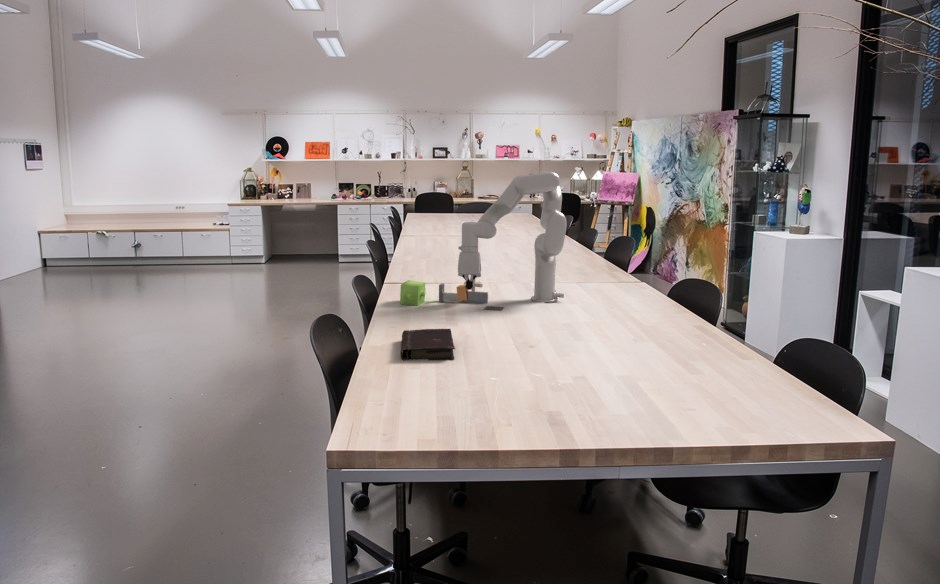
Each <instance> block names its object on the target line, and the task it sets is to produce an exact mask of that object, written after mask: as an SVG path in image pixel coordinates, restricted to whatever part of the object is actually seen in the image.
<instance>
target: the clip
mask: <svg viewBox="0 0 940 584" xmlns="http://www.w3.org/2000/svg"><path fill="white" fill-rule="evenodd" d="M466 291H470V290H467V287H466V285H464V284H459V285H457V286H456V293H457V295H458V301H461V300H467V293H466Z"/></svg>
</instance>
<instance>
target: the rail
mask: <svg viewBox="0 0 940 584" xmlns="http://www.w3.org/2000/svg"><path fill="white" fill-rule="evenodd" d="M466 293H467V300H461V301H458V295H457V292H448V291H447V292H445V283H440V284H438V303H445V304H447V303H449V304H454V303H470V304H471V303H472V304H488V303H489V292H488V291H487V292H485V291H475V292H473V291H471V290H469V291H466Z"/></svg>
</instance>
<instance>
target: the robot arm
mask: <svg viewBox="0 0 940 584" xmlns="http://www.w3.org/2000/svg"><path fill="white" fill-rule="evenodd" d="M560 178H561V177H560V176H559V174H557V172H556V173H555V172H554V171H550V170H549V171H548V170H542V171H539V172H538V173H536V174H530V175H529V174H528V175H525V174H518V175H517V176H515V177H514V178H513V179H512V180H511V182H510V183H509V184H508V186H507V187H506V188H505V190H504V191H503V192H502V193H501V195H499V197H498V198H497V200H495V201H494V203H493V204H491V205H490V207H488V208H487V209H486V210H485V212H484V213H483V214H482V216H481V217H480V218H479V219H478V221H477V222H475V221H465V222H462V224H461V245H460V246H458V250H460V252H459V254H458V261H457V276H458V277H460V278H461V277H462V278H463V279H464V282H466V287H467V290H469V291H471V289H472V288H473V280H474V279H475V280H476V278H481V277H482V261H481V254H480V252H479V239H486V240H490V239H492V238H494V237H495V236H496V234H497V227H496V224H497V223H498V222H499V221H500V220H501V219H502V218H503V217H505V216H507V215H509V214H510V213H512V212H513V211H514V210H515V208H517V206H518V205H519V203H520V202H521V201H522V199H524V196H526V195H529V196H530V195H537V194H542V196H543V201H542V202H543V203H542V208H541V209H542V210H541V214H540V215H541V216H540V221H539V223H540V226H541V227H542V229H544V230H545V232H543V233H540V234H539V235H537V236H536V238H535V241H534V245H533V246H534V260H535V263H534V265H535V266H534V294H533V295H532V296H530V300H531V301H533V302H536V303H545V304H547V303H555V302H558V298H559V299H560V298H561V299H564V298H565V294H564V293H560V292H557V290H556V289H555V288H556V265H557V262H556V261H557V260H556V256H558V255H560V254H561V252H562V250H563V248H564V245H565V240H566V239H565V238H566V232H567V228H568V227H567V226H568V225H567V217H566V216H565V214H563V212H561V211H562V201H563V194H562V190H561V187H560V184H561V179H560Z"/></svg>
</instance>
